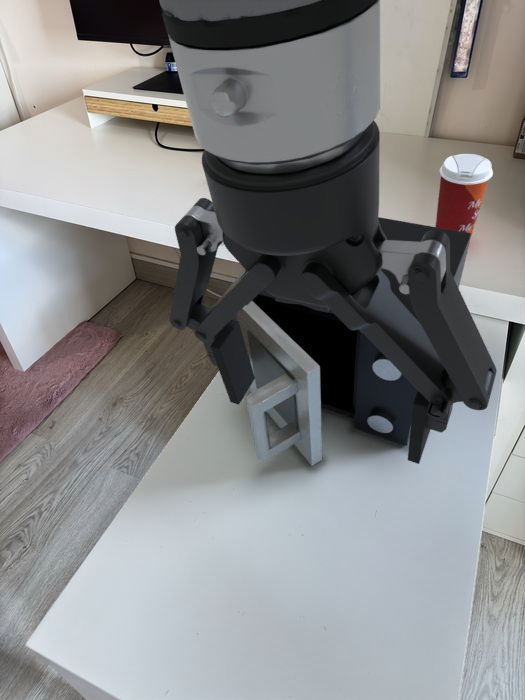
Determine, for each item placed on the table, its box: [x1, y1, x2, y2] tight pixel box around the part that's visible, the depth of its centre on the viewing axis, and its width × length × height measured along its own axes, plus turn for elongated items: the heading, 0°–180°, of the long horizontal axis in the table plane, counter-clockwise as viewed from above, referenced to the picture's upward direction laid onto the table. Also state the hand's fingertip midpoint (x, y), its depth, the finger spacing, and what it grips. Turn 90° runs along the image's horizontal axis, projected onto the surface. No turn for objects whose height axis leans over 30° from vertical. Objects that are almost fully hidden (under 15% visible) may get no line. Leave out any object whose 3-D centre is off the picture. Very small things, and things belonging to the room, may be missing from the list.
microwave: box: [252, 216, 472, 447], centre depth 67 cm, size 22×22×18 cm
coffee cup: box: [435, 153, 494, 236], centre depth 87 cm, size 8×8×15 cm
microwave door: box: [235, 301, 323, 467], centre depth 60 cm, size 7×15×18 cm, turn 32°
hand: (324, 415), depth 37 cm, fingers open, 13 cm apart
